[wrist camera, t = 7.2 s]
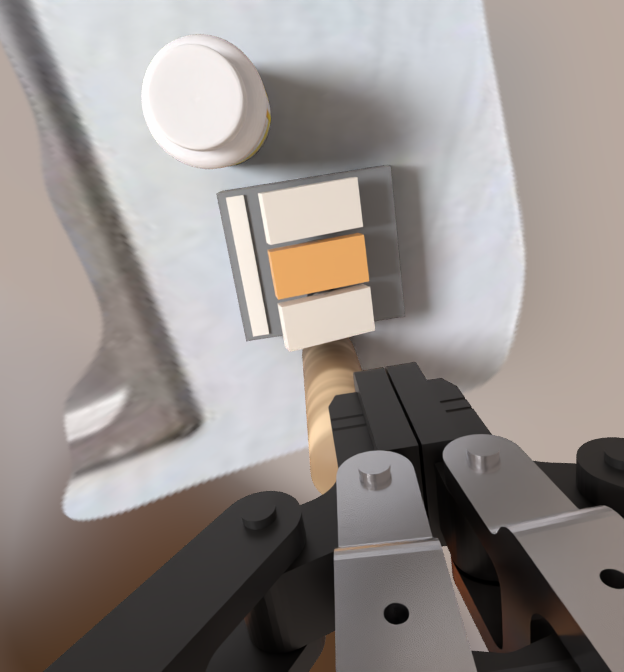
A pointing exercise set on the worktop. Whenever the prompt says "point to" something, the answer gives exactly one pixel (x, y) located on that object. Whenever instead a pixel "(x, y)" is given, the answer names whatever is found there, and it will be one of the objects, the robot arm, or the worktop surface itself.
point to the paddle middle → (318, 265)
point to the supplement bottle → (205, 102)
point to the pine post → (326, 402)
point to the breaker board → (252, 247)
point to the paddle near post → (326, 317)
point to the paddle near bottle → (310, 210)
